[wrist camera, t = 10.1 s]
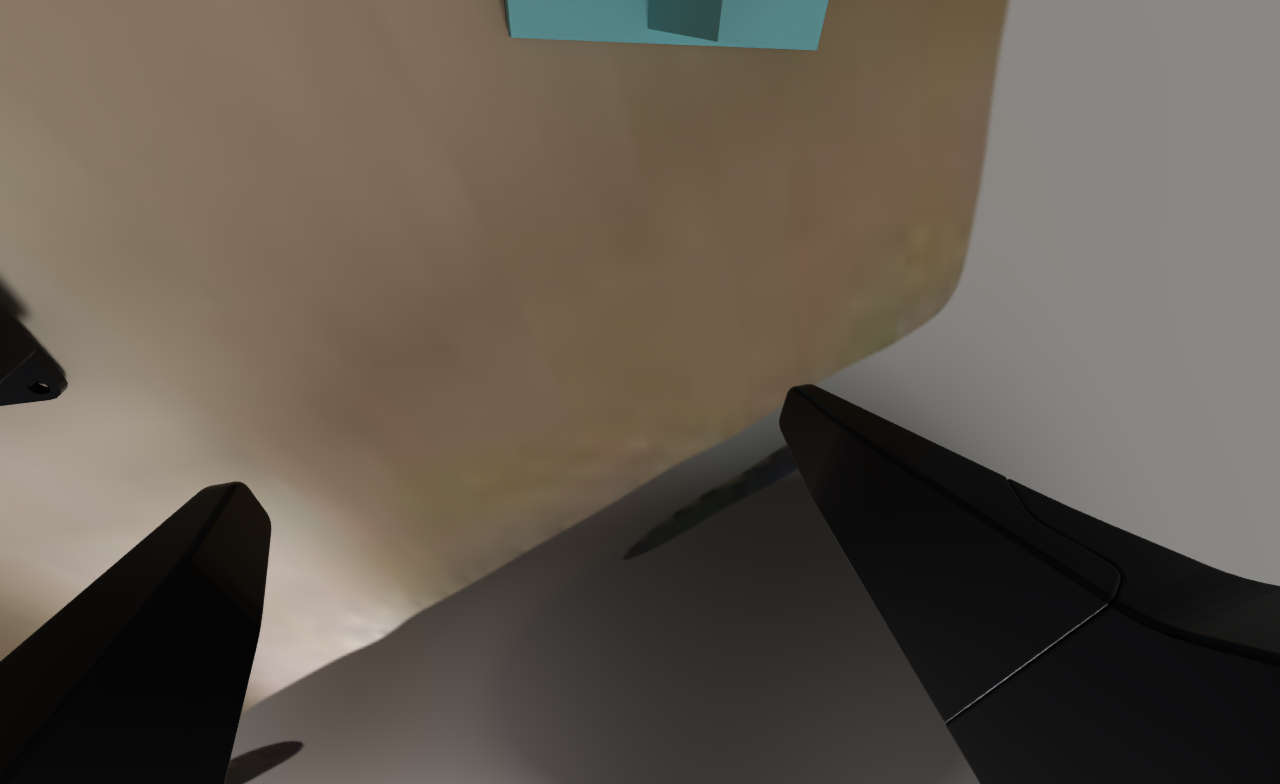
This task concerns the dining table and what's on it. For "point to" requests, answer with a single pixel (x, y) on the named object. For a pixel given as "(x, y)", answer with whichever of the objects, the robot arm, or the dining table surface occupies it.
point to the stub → (672, 21)
